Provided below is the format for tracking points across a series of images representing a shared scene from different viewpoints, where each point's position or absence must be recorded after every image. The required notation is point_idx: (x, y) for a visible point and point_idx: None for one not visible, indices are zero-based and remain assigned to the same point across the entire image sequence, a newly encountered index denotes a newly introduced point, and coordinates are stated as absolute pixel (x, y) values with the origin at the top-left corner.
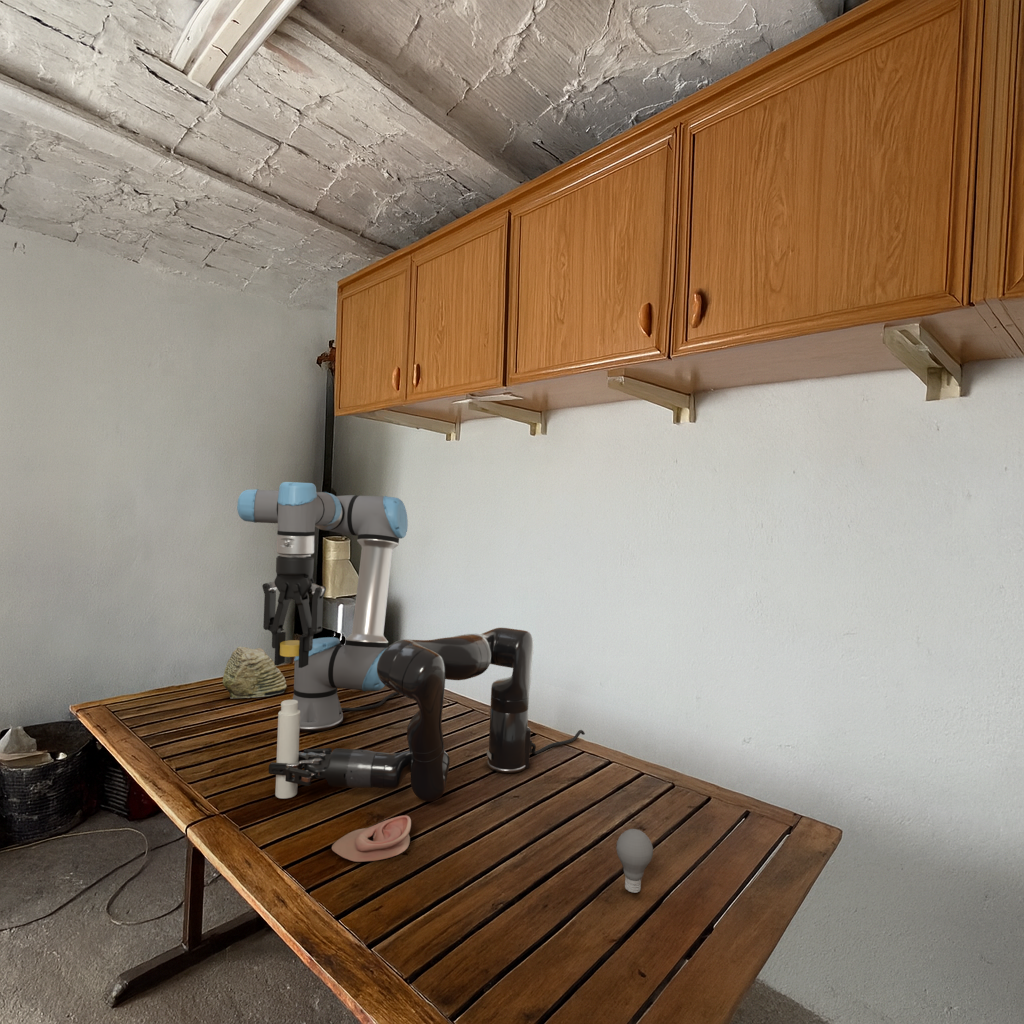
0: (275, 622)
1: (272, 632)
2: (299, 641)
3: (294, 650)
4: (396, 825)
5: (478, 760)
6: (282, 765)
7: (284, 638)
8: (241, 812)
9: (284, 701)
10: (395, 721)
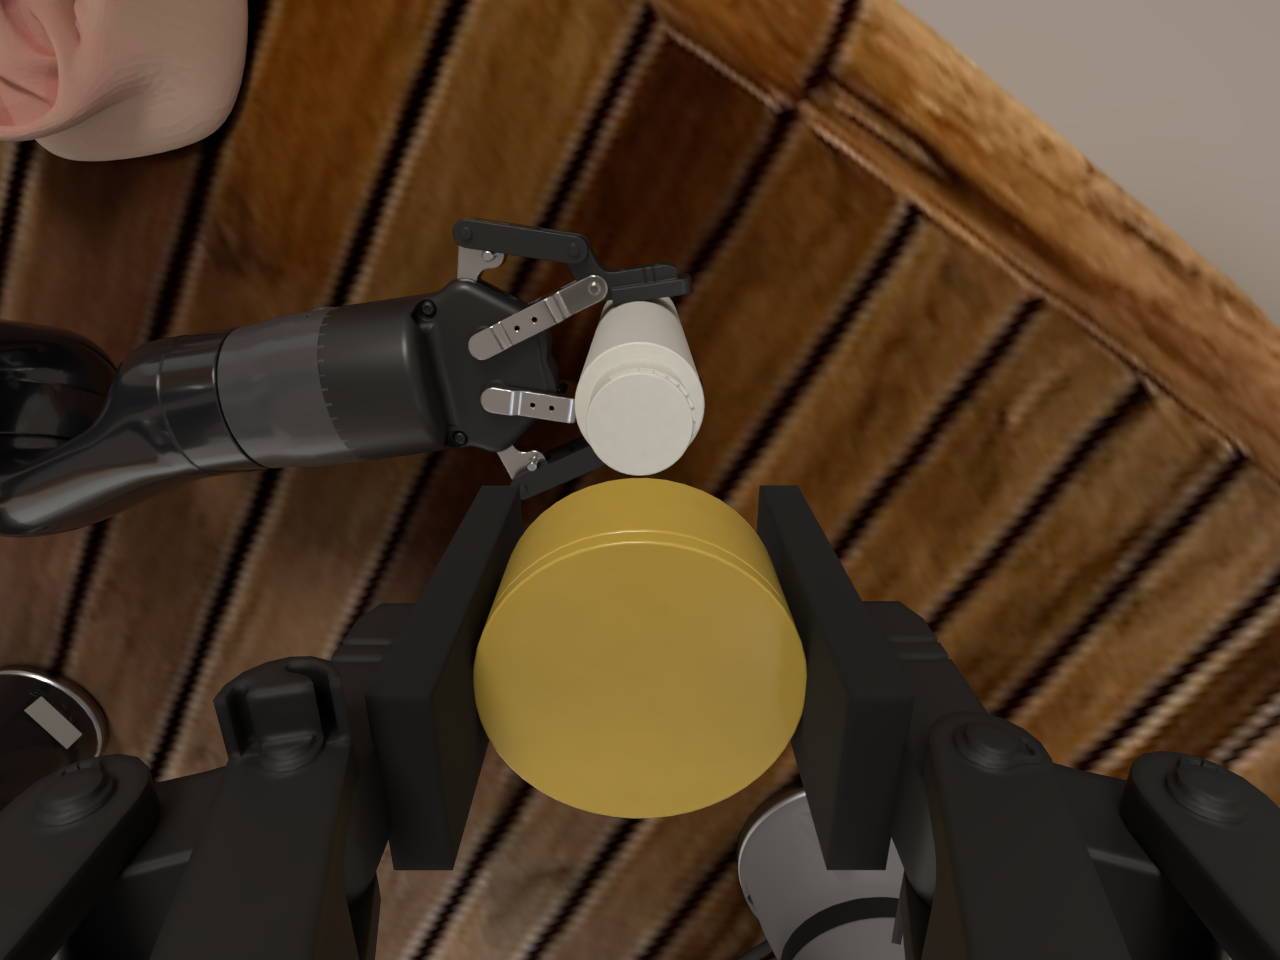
0: (1045, 906)
1: (997, 727)
2: (452, 647)
3: (532, 546)
4: (35, 107)
5: (150, 730)
6: (628, 286)
7: (806, 770)
8: (720, 139)
9: (677, 424)
10: (569, 920)
